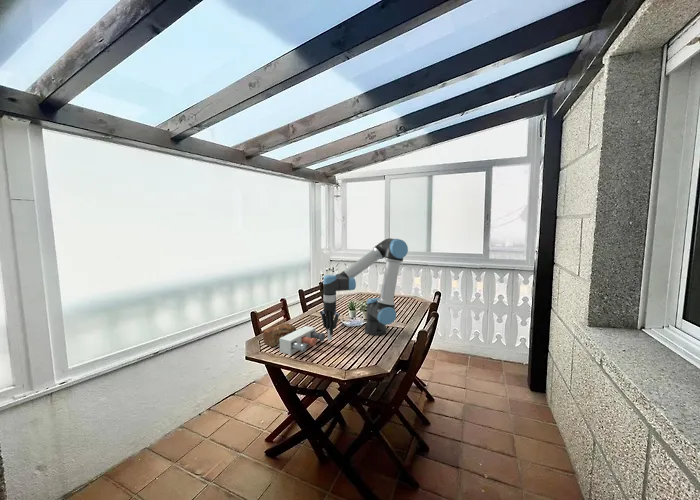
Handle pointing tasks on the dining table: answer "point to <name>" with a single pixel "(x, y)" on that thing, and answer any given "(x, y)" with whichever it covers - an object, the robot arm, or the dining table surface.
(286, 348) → the socket block
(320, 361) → the dining table surface
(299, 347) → the steel plug
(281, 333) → the bread
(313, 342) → the red plug
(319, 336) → the grey plug
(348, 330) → the dining table surface
